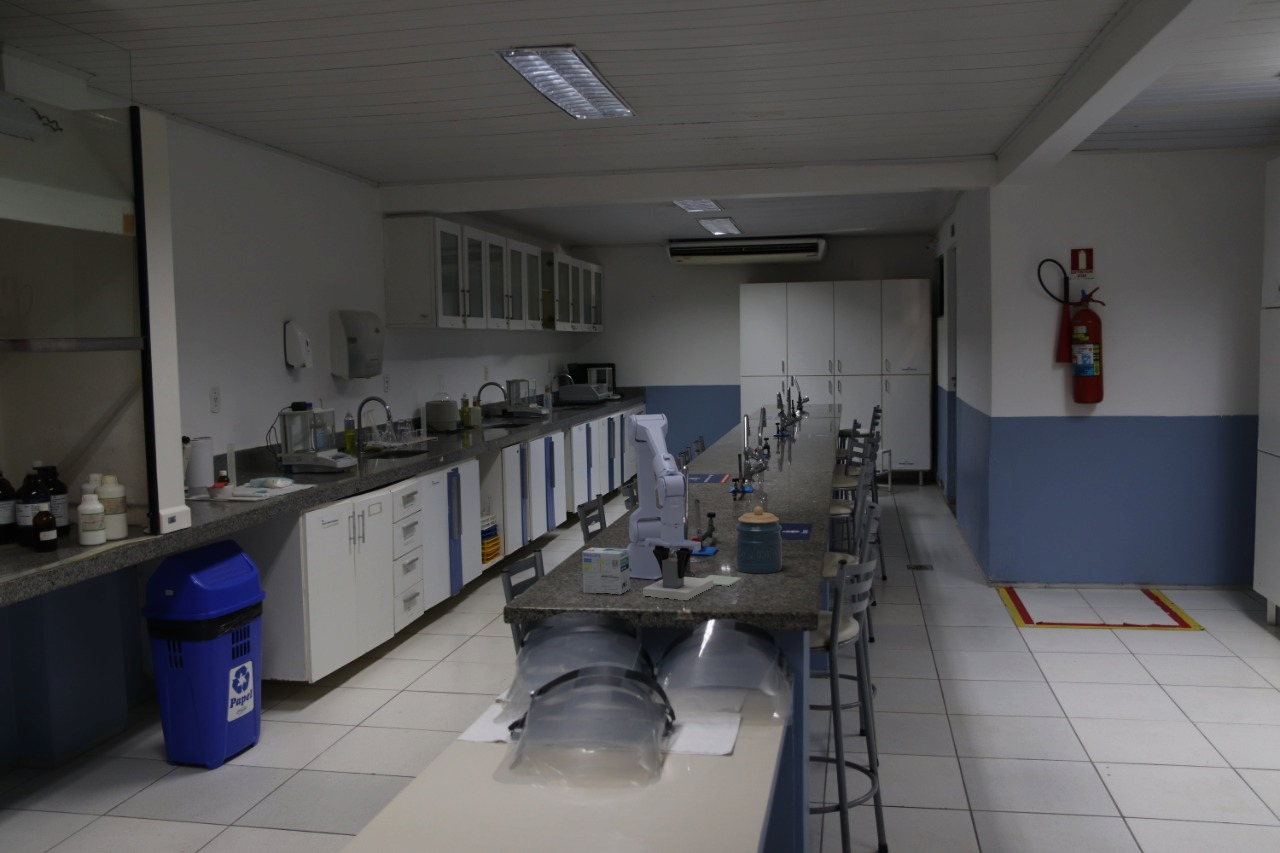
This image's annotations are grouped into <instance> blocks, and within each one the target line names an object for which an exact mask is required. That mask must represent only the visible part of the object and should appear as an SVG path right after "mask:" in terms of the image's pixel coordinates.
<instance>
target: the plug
mask: <svg viewBox="0 0 1280 853" xmlns="http://www.w3.org/2000/svg"><path fill="white" fill-rule="evenodd" d="M662 574H663V577H662V579H663V588H672V589H679V588H681V587H683V586H684V578H682V579H680V578H679V577H678V561H677V557H668V558H667V559H665V560H663V561H662Z"/></svg>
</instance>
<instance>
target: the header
mask: <svg viewBox="0 0 1280 853" xmlns="http://www.w3.org/2000/svg"><path fill="white" fill-rule="evenodd" d="M703 578H704V577H703ZM703 578H700V577H693V576H691V577H689V576H685V577H684V586H683V587H681V588H679V589H672V588H663V578H662V579H660V580H658V581H656V582H653V583H651V584H649V585H647V586H645V587H643V588H642V597H645V596H651V597H650V598H655V597H658V599H664V598H669V599H668V600H674V599H678V600H677V601H683V600H688V601H690V600H691V599H693V598H695V597H697V596H699V595H701V594H703V593H704V591H705V592H707V591H708V589H709V590H711V589H712V588H714V585H713V579H703ZM711 587H712V588H711ZM706 590H707V591H706ZM702 592H703V593H702ZM700 593H701V594H700ZM698 594H699V595H698ZM696 595H697V596H696ZM694 596H695V597H694ZM692 597H693V598H692ZM690 598H691V599H690ZM689 599H690V600H689Z"/></svg>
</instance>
